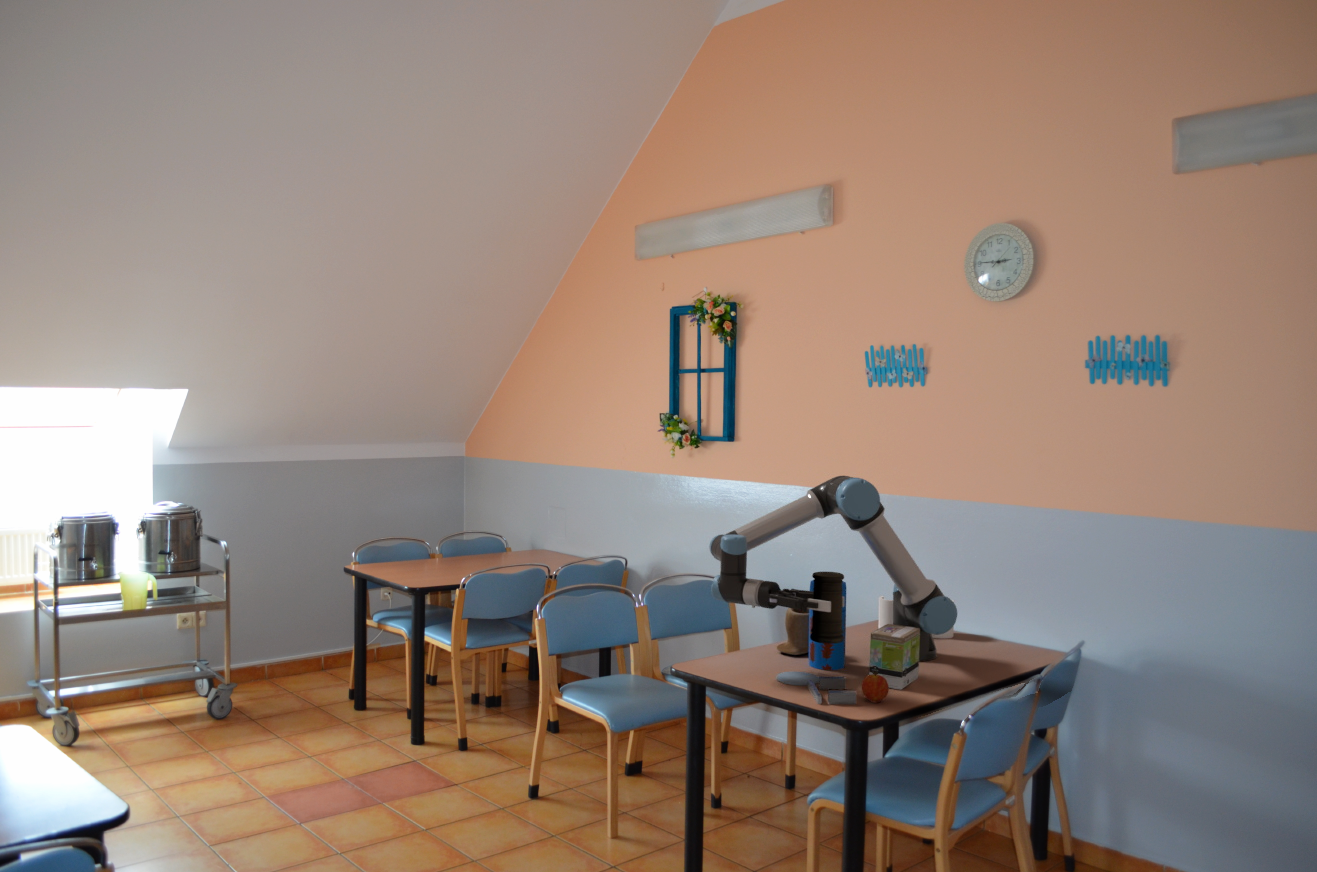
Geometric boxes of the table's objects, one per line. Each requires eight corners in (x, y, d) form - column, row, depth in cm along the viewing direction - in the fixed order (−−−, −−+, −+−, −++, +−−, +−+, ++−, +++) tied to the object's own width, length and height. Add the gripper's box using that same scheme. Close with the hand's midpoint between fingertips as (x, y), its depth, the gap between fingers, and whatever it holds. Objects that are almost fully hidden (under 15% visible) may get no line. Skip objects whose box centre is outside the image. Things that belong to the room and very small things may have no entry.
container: (844, 637, 260) (845, 571, 260) (843, 644, 252) (844, 577, 251) (810, 634, 262) (812, 570, 262) (809, 642, 254) (810, 575, 253)
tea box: (903, 690, 259) (904, 636, 258) (867, 684, 264) (868, 632, 264) (919, 678, 272) (920, 626, 271) (885, 672, 277) (886, 622, 277)
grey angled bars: (844, 687, 261) (844, 676, 261) (856, 704, 246) (856, 692, 246) (807, 687, 261) (808, 676, 261) (817, 703, 246) (817, 692, 246)
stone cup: (798, 660, 289) (799, 611, 289) (771, 652, 299) (771, 604, 298) (832, 652, 299) (833, 605, 298) (804, 645, 308) (805, 599, 308)
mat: (815, 673, 275) (815, 671, 275) (823, 685, 263) (823, 683, 263) (774, 673, 274) (774, 671, 274) (779, 685, 262) (779, 683, 262)
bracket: (880, 636, 322) (880, 600, 322) (876, 629, 332) (877, 595, 331) (956, 639, 319) (956, 603, 319) (950, 632, 329) (951, 597, 328)
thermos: (844, 671, 277) (846, 586, 277) (807, 668, 279) (809, 584, 279) (845, 661, 288) (846, 579, 287) (809, 659, 290) (810, 578, 289)
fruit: (855, 699, 251) (856, 669, 250) (875, 695, 254) (876, 665, 254) (874, 706, 245) (874, 675, 244) (894, 702, 248) (894, 672, 248)
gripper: (779, 601, 277) (852, 611, 264) (743, 613, 260) (820, 624, 247) (780, 575, 277) (853, 584, 263) (744, 585, 260) (820, 596, 247)
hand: (837, 604), depth 255 cm, fingers closed on container, 8 cm apart
